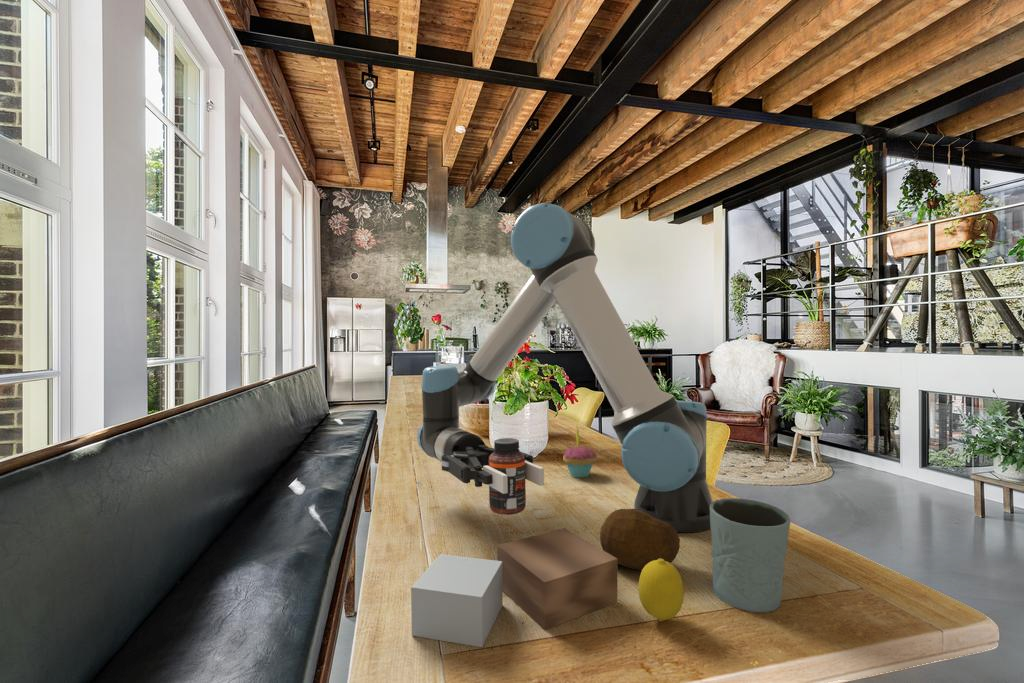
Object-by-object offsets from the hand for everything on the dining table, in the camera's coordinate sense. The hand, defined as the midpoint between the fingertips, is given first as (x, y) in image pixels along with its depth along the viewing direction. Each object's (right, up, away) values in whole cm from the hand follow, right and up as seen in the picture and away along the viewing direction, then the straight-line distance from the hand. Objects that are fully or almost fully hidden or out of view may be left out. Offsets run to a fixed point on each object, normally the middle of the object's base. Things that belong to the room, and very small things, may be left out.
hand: (523, 480), depth 76 cm
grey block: (-9, -14, -12) cm, 21 cm away
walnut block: (+4, -14, -6) cm, 16 cm away
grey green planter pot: (+31, -14, -7) cm, 35 cm away
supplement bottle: (-3, -6, +5) cm, 8 cm away
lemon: (+17, -15, -13) cm, 26 cm away
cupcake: (+15, -12, +49) cm, 52 cm away
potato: (+18, -14, +2) cm, 23 cm away
